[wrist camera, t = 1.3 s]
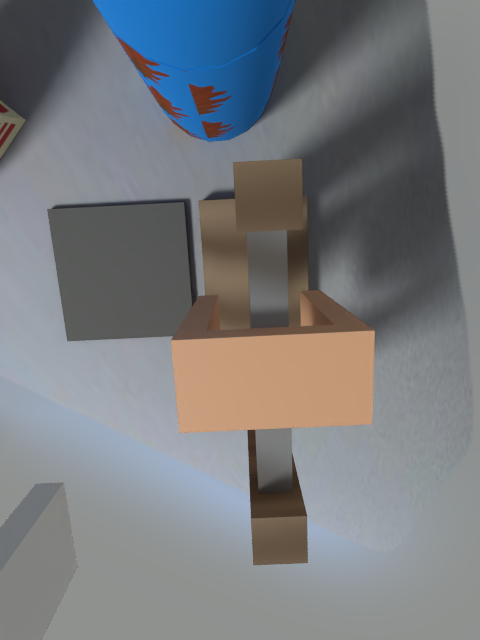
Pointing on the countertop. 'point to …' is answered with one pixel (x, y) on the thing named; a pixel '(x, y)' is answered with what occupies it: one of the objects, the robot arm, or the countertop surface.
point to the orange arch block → (273, 370)
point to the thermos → (204, 57)
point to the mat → (122, 270)
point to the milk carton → (8, 126)
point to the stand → (263, 324)
